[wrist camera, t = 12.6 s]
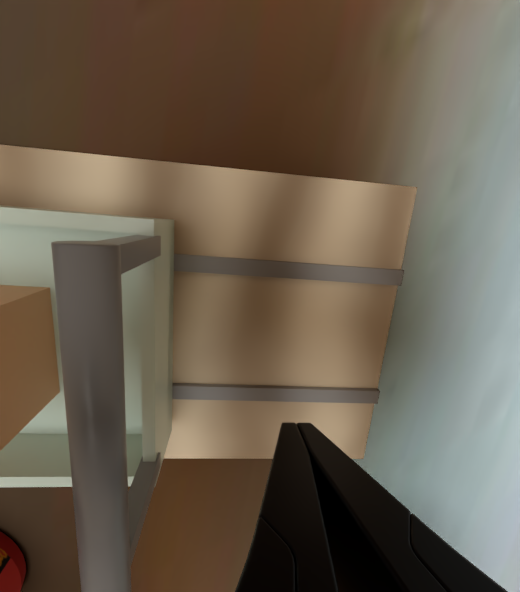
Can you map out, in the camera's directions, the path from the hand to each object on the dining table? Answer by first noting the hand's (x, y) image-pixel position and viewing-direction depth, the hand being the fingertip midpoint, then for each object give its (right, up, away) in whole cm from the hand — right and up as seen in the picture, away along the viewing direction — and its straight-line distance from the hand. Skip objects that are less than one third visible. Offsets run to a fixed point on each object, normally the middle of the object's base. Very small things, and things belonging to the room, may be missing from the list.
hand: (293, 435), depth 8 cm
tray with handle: (-11, +3, +6) cm, 13 cm away
